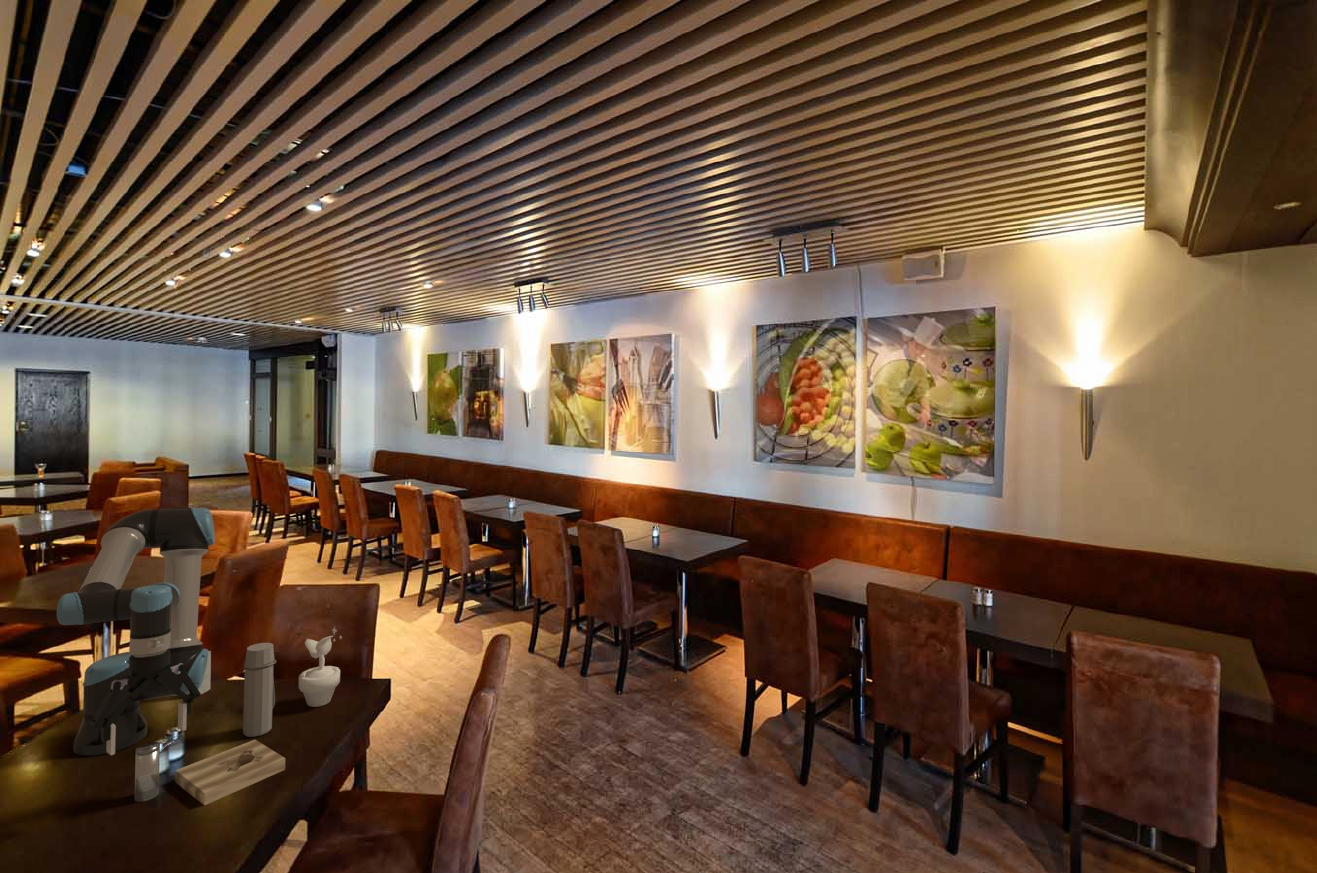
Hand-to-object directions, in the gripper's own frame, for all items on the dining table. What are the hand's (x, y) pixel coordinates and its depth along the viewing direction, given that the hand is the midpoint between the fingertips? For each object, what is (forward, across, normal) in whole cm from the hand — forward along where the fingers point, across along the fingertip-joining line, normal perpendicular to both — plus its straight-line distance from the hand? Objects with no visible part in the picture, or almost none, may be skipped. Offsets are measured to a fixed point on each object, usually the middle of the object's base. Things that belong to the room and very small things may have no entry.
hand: (147, 740), depth 143 cm
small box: (+13, +29, +54) cm, 63 cm away
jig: (+14, +15, -6) cm, 21 cm away
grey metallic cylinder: (+14, 0, 0) cm, 14 cm away
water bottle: (+13, +30, +12) cm, 35 cm away
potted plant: (+13, +49, +16) cm, 53 cm away
